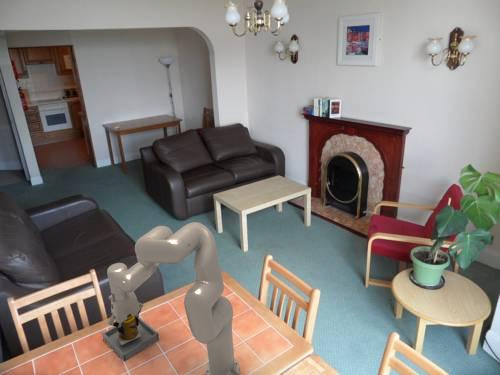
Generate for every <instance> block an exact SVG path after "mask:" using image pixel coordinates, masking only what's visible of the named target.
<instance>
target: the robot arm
mask: <svg viewBox="0 0 500 375" xmlns="http://www.w3.org/2000/svg"><path fill="white" fill-rule="evenodd" d="M217 247H218V246H217V242H216V239H215V236H214V234H213V233H212V232H211V230H210V229H209V228H208V227H207V226H205V225H204V224H203V223H201V222H197V221H195V222H190V223H187V224H185V225H184V226H182V227H181V228H179V229H178V230H177V231H175V232H174V233H173V231H172V230H171V228H170V227H168V226H167V225H158V226H155V227H153V228H151V229H150V230H149V231H148V232H146V233H145V234H144V235H142V236H141V237H140V238H138V239H137V241H135V245H134V252H135V254H136V255H135V256H136V259H137V262H136V263H135V264H134V265H132V266H130V268H129V269H128V267H127V264H125V263H123V262H117V263H113V264H110V266H109V267H108V268H107V271H106V273H107V278H108V284H109V289H110V295H109V296H108V299H109V300H110V308H111V316H110V318H109V320H108V321H107V324H108V325H109V326H112V327H117V329H118V332H119V333H121V334H122V335H123V334H124V330H123V326H121V325H122V322H123V321H125V320H127V316H128V315H129V314H131V315H132V316H134V315H135V319H136V324H137V326H138V325H139V324H138V322H139V319H138V317H140V313H141V311H142V309H143V307H144V304H143V303H141V302H139V301H138V298H137V295H136V294H135V290H137V288H139V287H140V286H142V284H143V283H145V282H146V281H147V280H148V279H149V278H150V277H151V276H152V275H153V274H154V273H155V271H156V270H157V269H158V267H159V266H160V264H164V265H166V264H167V265H176V264H179V263H180V264H181V262H183V261H184V260H185V259H187V258H188V257H189V256H190V255H191V254H192V253H193V252H194V256H193V257H194V258H193V270H194V273H195V281H194V283H193V285H191V286H190V287H189V289H188V290H187V291H186V293H185V295H184V300H183V305H184V310H185V313H186V317H187V322H188V325H189V328H190V332H191V334H192V336H193V337H194V338H195V340H196V341H197V342H198V343H201V344H204V345H206V349H207V357H208V358H207V360H208V362H206V366H205V374H206V375H242V374H241V372H240V366H239V362H238V360H237V359H236V358H235V351H234V350H235V349H234V338H233V336H234V335H233V320H234V309H233V308H234V307H233V305H232V303H231V300H229V298H227V297H226V296H224V295H223V293H224V290H225V284H224V279H223V274H222V269H221V265H220V261H219V260H220V259H219V255H218V248H217Z"/></svg>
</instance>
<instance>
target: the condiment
mask: <svg viewBox="0 0 500 375" xmlns="http://www.w3.org/2000/svg"><path fill="white" fill-rule="evenodd" d="M121 326H123V330H124V334H123V335H122V334H121V333H118V334H116V336H117V338H118V340H119V342H120V344H121V345H123V344H125V343H127V342H129V341H131V340H134V339H136V338H138V337H140V336H141V334H140V333H139V331H138V329H137V324H136V319H135V315H134V316H132V315H131V314H129V315H128V316H127V320H125V321H123V322H122V325H121Z"/></svg>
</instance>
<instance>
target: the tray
mask: <svg viewBox="0 0 500 375" xmlns="http://www.w3.org/2000/svg"><path fill="white" fill-rule="evenodd" d="M138 319H139V322H138V324H139V325H138V326H137V329H138V331H139V333H140V334H141V336H140V337H138V338H136V339H134V340H131V341H129V342H127V343H125V344H123V345H121V344H120V342H119V340H118V338H117V336H116V334H118V333H119V332H118V329H117V327H115V326H112V327H111V328H110V329H108V330H106V331H104V332H102V334H101V336H102V340H103V341H104V342H105V343H106V344H107V345H108V346H109V347H110V348H111V349H112V350H113V351H114V353H116V355H117V356H118V357H119V358H120V359H121V360H122V361H123V362H126V361H128V360H129V359H131V358H133V357H134V356H135V355H137V354H139V353H141V352H142V351H143V350H144V349H146V348H147V347H150V346H151V345H153V343H155V342H157V341H158V340H160V337H159V333H158V332H157V331H156V330H155V329H154V328H153V327H152V326H150V325H149V324H148V323H146V321H145V320H144V319H142V317H140V316H139V317H138Z"/></svg>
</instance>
